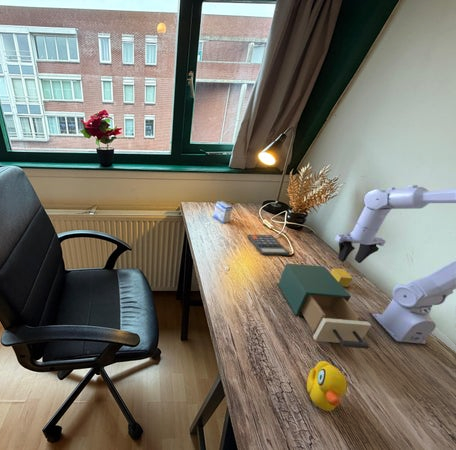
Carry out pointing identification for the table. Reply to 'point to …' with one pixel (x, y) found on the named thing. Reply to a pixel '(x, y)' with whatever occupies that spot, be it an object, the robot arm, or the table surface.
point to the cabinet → (308, 284)
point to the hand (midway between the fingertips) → (349, 260)
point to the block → (341, 276)
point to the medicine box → (223, 211)
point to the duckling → (326, 385)
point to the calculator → (268, 245)
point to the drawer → (335, 321)
